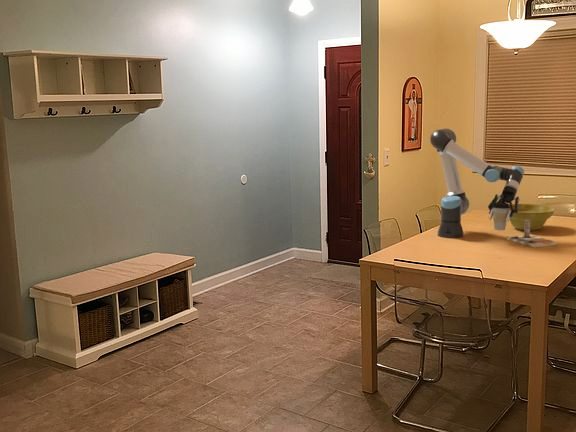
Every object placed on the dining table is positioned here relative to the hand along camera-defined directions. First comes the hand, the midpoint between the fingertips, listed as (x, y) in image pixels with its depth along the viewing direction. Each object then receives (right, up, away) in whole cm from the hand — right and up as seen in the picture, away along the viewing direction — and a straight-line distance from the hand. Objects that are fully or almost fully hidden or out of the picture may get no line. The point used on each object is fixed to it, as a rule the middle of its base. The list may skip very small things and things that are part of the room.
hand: (498, 220), depth 356 cm
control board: (+20, -13, +2) cm, 24 cm away
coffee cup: (+2, -6, +4) cm, 7 cm away
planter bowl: (+32, -6, +40) cm, 51 cm away
